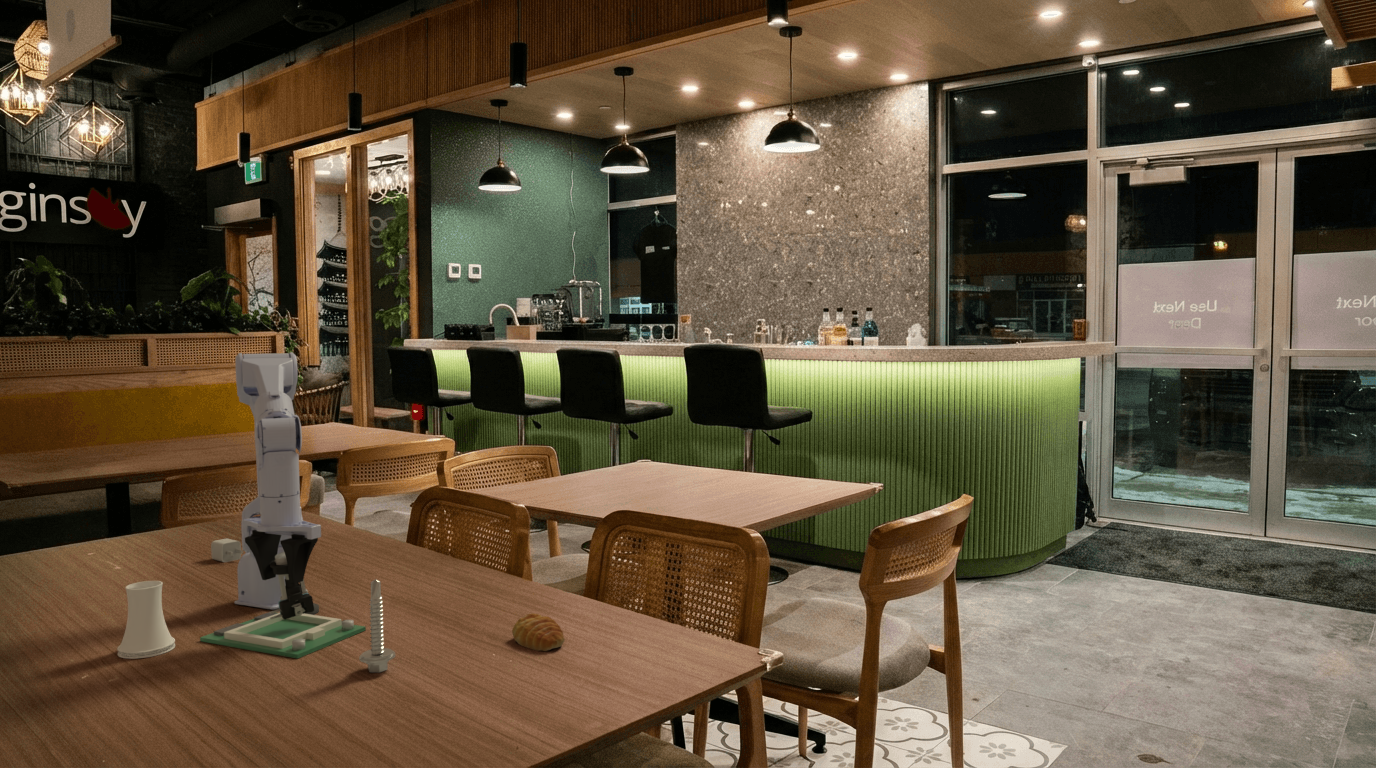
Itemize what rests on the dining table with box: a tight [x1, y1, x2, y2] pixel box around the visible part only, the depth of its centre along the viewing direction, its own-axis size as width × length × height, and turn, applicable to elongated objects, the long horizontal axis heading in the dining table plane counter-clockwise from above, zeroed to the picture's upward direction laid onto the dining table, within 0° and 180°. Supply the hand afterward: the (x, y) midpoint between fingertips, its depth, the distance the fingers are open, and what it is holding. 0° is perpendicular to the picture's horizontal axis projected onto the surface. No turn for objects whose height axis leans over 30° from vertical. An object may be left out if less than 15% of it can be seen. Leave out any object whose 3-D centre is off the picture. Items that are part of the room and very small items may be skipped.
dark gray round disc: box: [304, 602, 320, 615], centre depth 159 cm, size 6×6×1 cm
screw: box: [358, 578, 396, 674], centre depth 132 cm, size 13×5×5 cm
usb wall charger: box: [210, 538, 244, 563], centre depth 196 cm, size 4×7×4 cm, turn 54°
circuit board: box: [199, 611, 367, 659], centre depth 147 cm, size 20×14×2 cm
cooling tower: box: [116, 580, 176, 660], centre depth 141 cm, size 8×8×10 cm
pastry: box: [511, 612, 565, 652], centre depth 144 cm, size 9×7×4 cm
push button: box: [269, 552, 314, 619], centre depth 148 cm, size 7×5×10 cm
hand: (282, 580), depth 147 cm, fingers closed on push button, 5 cm apart
